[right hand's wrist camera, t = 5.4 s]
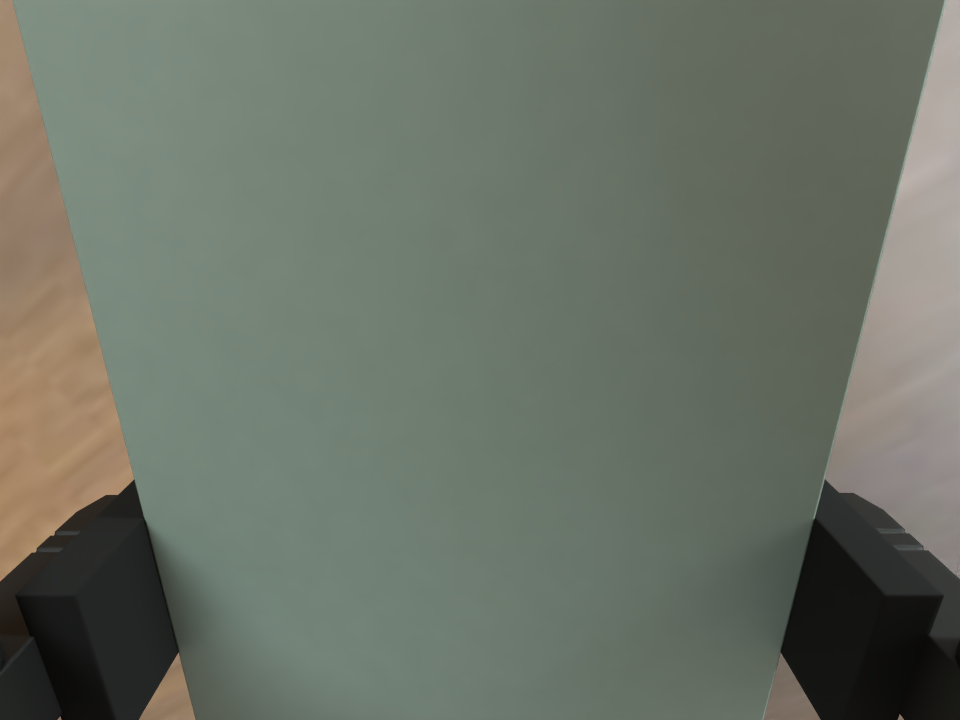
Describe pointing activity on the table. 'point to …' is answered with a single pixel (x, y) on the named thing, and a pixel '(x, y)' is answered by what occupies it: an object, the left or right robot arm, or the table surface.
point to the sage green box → (479, 330)
